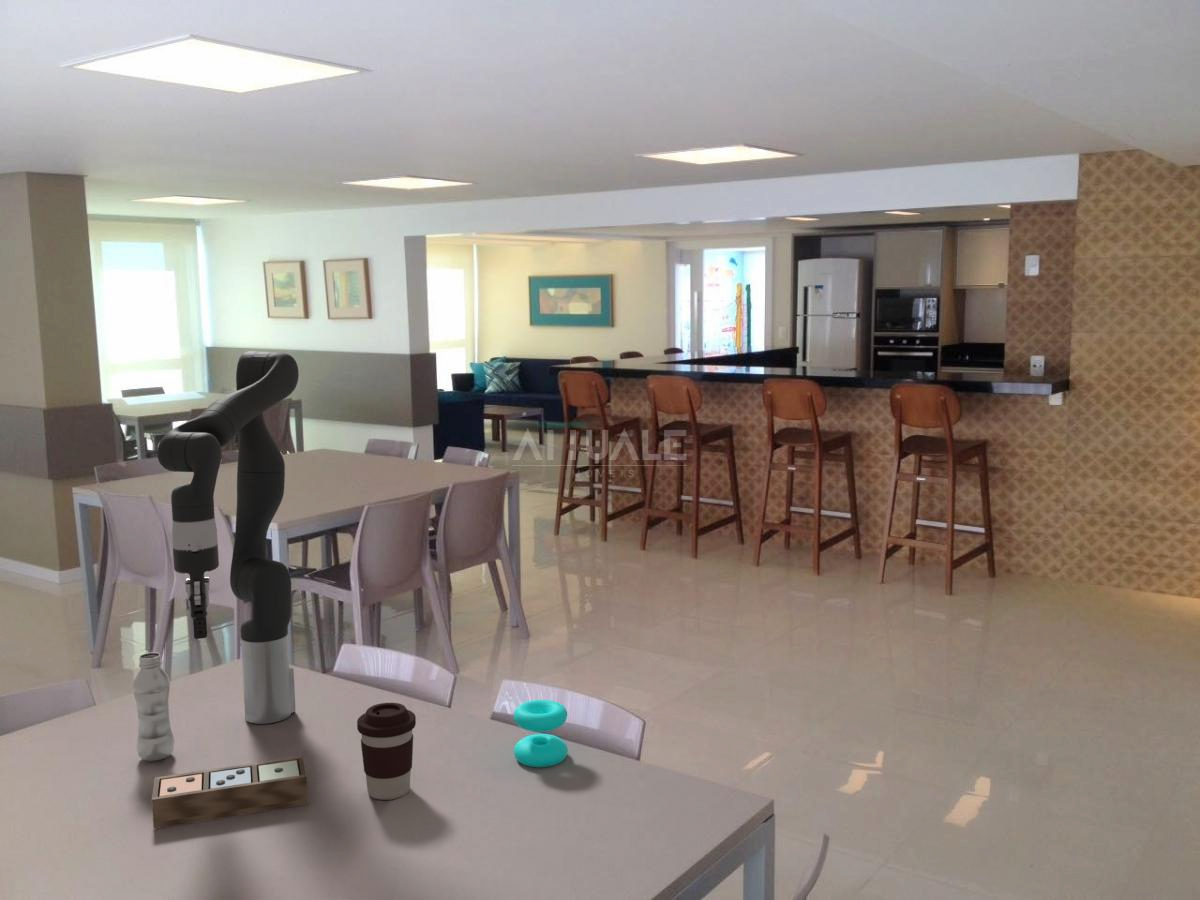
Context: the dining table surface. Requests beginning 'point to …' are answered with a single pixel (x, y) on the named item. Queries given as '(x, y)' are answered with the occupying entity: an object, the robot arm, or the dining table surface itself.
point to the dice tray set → (229, 796)
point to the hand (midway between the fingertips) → (200, 637)
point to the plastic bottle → (153, 709)
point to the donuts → (540, 746)
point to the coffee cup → (387, 749)
